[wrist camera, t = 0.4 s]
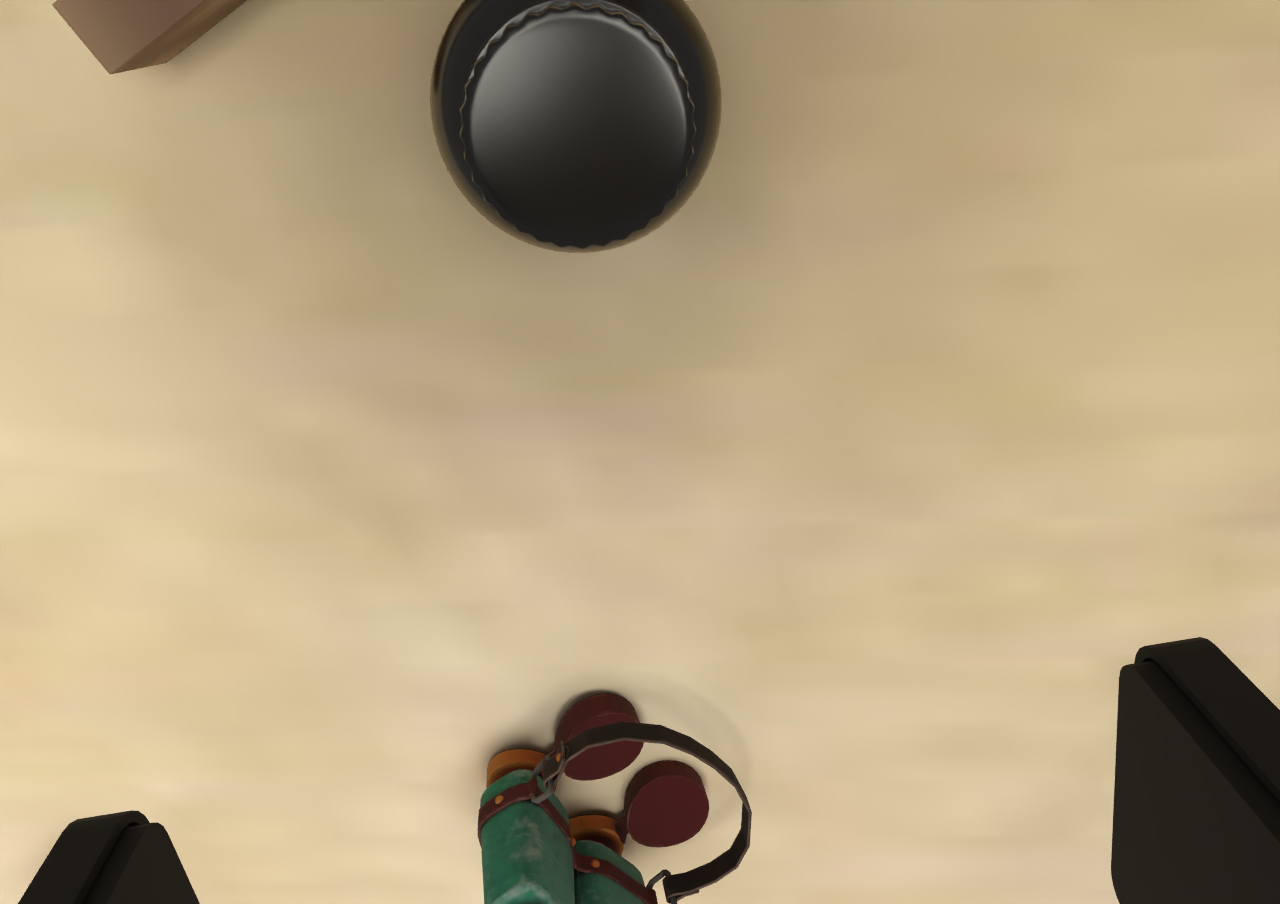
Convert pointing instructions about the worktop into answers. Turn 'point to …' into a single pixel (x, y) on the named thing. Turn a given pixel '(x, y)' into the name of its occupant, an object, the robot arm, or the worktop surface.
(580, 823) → the binoculars
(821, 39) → the worktop surface
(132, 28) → the walnut rail
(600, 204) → the supplement bottle
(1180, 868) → the robot arm
